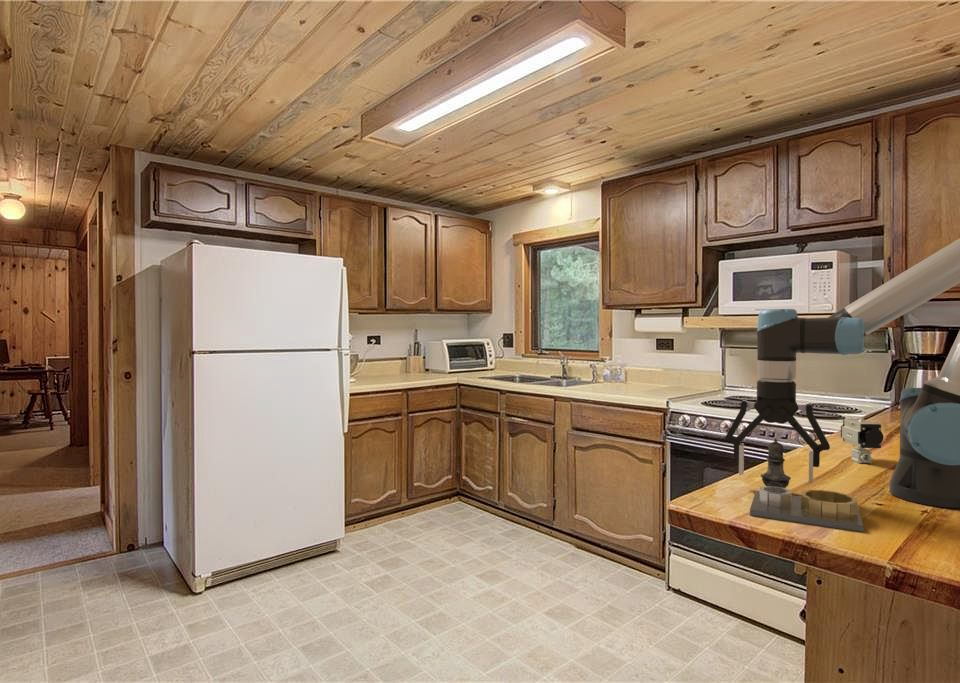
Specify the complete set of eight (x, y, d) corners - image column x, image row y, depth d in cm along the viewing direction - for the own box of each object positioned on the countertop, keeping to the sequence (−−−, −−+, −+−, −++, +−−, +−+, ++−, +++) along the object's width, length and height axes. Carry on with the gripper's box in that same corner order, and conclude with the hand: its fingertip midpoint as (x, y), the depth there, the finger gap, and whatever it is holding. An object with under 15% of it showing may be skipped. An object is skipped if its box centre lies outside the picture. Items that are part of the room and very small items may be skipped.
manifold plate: (857, 509, 111) (857, 491, 111) (863, 532, 99) (863, 511, 98) (755, 496, 120) (755, 479, 120) (749, 515, 108) (750, 496, 108)
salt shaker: (774, 497, 119) (775, 441, 118) (754, 490, 124) (754, 436, 124) (797, 495, 120) (797, 439, 120) (776, 488, 126) (776, 434, 126)
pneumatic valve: (857, 457, 155) (858, 414, 155) (884, 467, 143) (884, 421, 143) (836, 456, 155) (837, 413, 155) (861, 467, 144) (861, 420, 144)
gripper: (843, 381, 119) (841, 481, 119) (717, 376, 131) (716, 466, 132) (845, 384, 112) (843, 489, 113) (712, 378, 125) (711, 473, 125)
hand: (775, 477), depth 122 cm, fingers open, 13 cm apart
